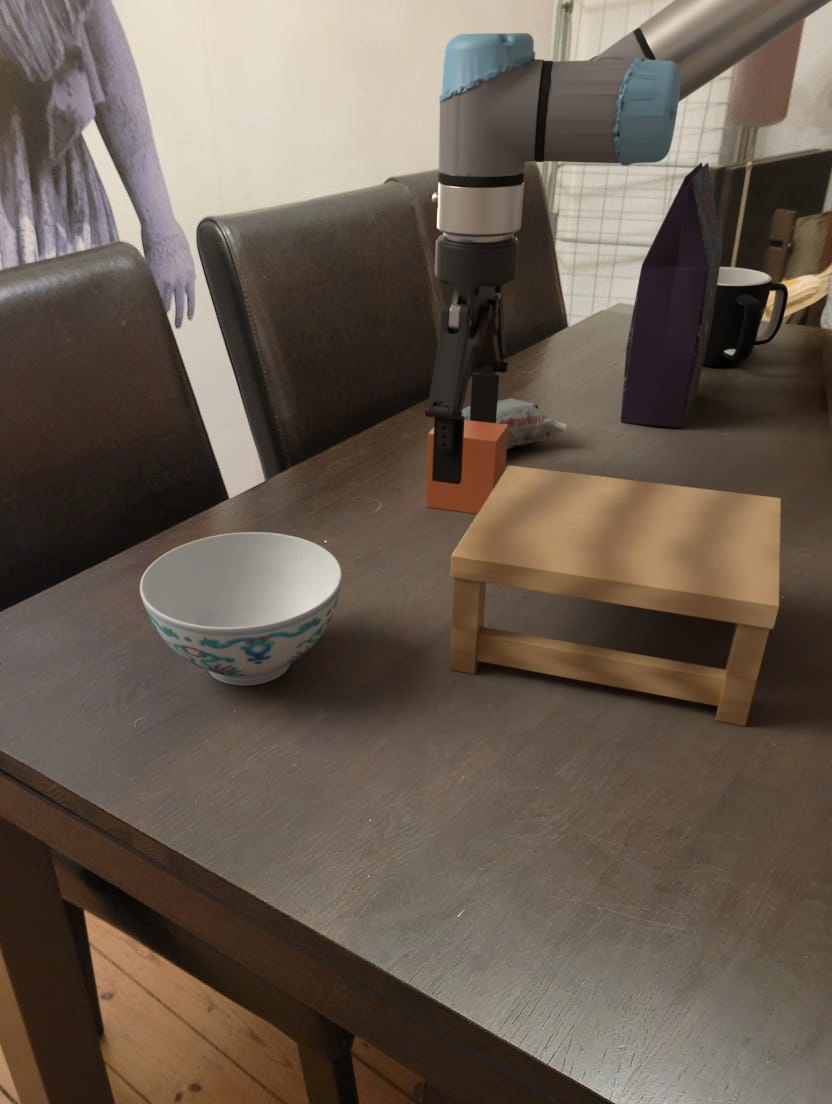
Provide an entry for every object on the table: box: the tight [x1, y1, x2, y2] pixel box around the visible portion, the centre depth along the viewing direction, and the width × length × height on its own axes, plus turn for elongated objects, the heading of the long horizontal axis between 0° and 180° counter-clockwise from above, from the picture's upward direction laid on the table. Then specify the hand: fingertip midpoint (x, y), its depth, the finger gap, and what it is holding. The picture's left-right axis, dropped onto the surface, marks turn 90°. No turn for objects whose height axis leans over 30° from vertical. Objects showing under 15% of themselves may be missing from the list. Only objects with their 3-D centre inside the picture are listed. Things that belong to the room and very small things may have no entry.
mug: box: [703, 266, 789, 367], centre depth 139 cm, size 16×16×12 cm
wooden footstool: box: [449, 465, 782, 727], centre depth 75 cm, size 22×18×10 cm
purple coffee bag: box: [620, 162, 723, 430], centre depth 117 cm, size 8×16×28 cm, turn 156°
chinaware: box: [139, 531, 343, 686], centre depth 73 cm, size 15×15×8 cm
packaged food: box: [462, 398, 567, 450], centre depth 113 cm, size 9×12×5 cm
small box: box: [425, 420, 508, 515], centre depth 98 cm, size 7×5×8 cm
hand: (465, 456), depth 98 cm, fingers open, 13 cm apart
